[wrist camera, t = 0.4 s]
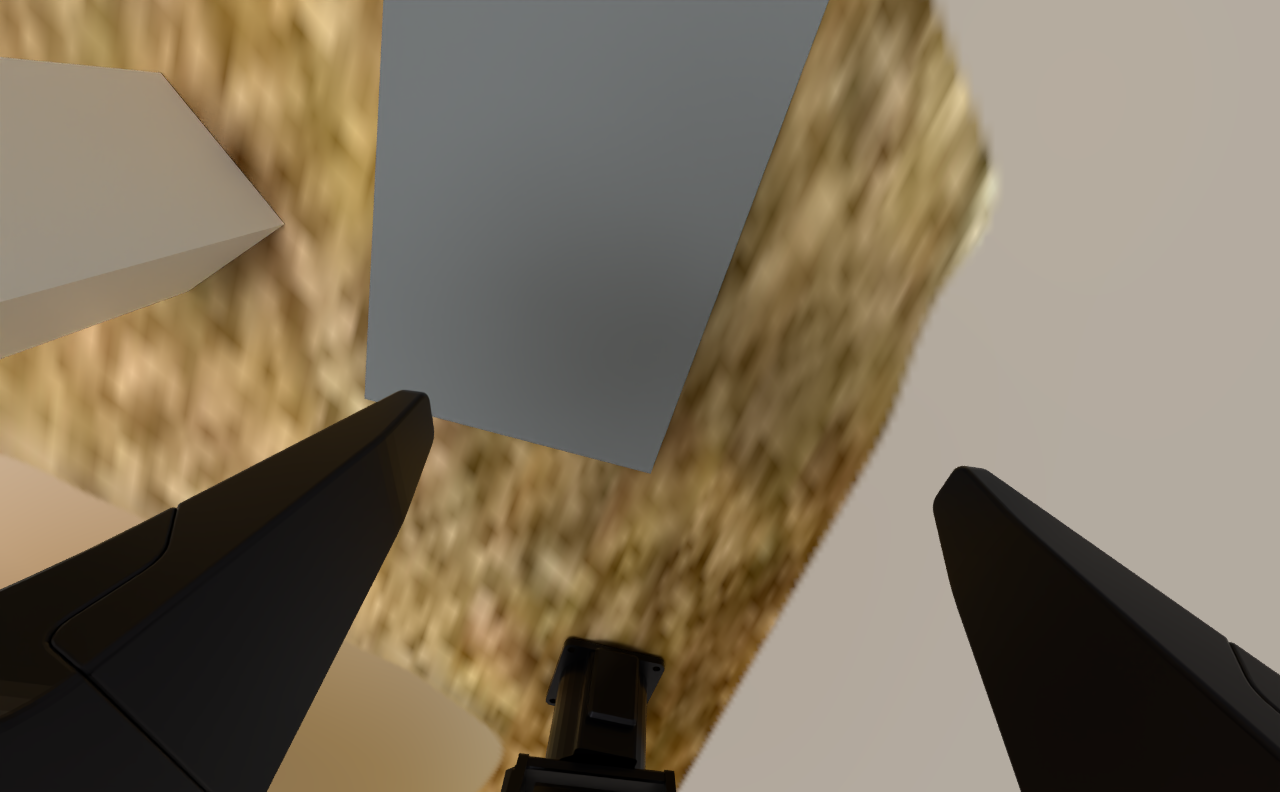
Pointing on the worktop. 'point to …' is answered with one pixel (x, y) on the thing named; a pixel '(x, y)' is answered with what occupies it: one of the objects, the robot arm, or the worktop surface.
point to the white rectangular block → (108, 198)
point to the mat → (567, 203)
